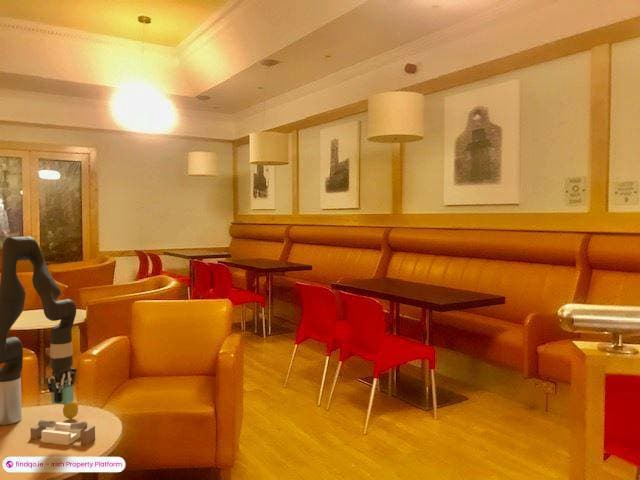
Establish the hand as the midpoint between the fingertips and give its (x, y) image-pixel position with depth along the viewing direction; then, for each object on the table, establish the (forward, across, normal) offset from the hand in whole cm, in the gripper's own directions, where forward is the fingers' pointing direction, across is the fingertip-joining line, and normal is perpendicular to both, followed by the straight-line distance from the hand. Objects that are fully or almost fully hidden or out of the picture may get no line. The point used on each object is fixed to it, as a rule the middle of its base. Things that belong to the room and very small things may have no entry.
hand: (62, 400), depth 193 cm
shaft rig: (+15, 0, 0) cm, 15 cm away
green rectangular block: (+1, 0, 0) cm, 1 cm away
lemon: (+15, -16, -9) cm, 24 cm away
